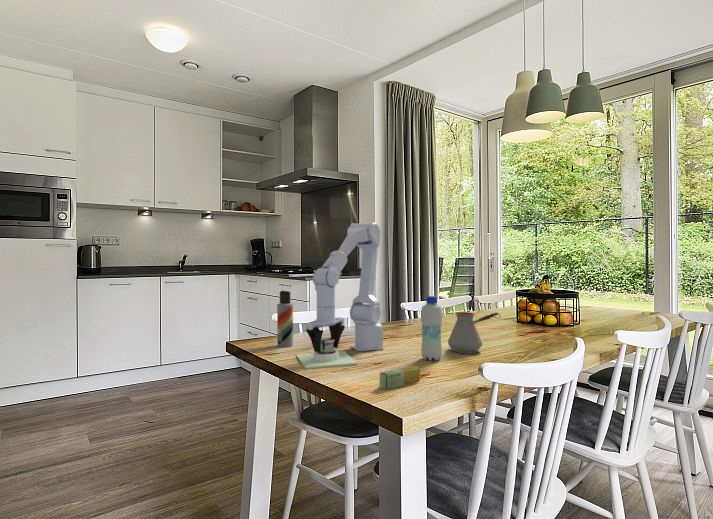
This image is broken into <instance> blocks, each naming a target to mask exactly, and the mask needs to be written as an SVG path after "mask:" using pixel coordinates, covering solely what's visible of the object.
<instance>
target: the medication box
mask: <svg viewBox="0 0 713 519" xmlns="http://www.w3.org/2000/svg"><path fill="white" fill-rule="evenodd" d="M420 374H421V370H420V367H418V366H415V365H409V366H406V367H405V366H403V367H400V368H396V369H395V368H394V369H391V370H386V371H382V372H379V386H378V387H380V389H381V388H382V390H384V389H387V390H390V389H389V388H391V389H394V388H393V387H395V388H398V387H397V386H399V387H402V386H401V385H403V386H406V385H405V384H407V385H410V384H414V383H418V382H420ZM413 382H414V383H413ZM409 383H410V384H409Z"/></svg>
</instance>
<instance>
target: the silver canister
mask: <svg viewBox="0 0 713 519" xmlns="http://www.w3.org/2000/svg"><path fill="white" fill-rule="evenodd" d="M334 342H335V338H331V336H330V337H329V336H325V337H323V336H322V338H321V349H320V354H333V353H334V350H335V348H334Z"/></svg>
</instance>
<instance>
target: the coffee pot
mask: <svg viewBox="0 0 713 519" xmlns="http://www.w3.org/2000/svg"><path fill="white" fill-rule="evenodd" d="M454 314H455V316H456V321H455V324H454V325H453V328H452V331H451V333H450V334H449V337H448V340H447V343H448V347H450V348H451V349H452V350H453V351H454V352H456V353H459V354H475V353H477V351H479V350H480V349H481V348H482V346H483V341H482V339H481V337H480V335H479V332H478V329H477V328H476V325H475V324H478V323H480V322H484V321H486V320H489V319H491V318H495V319H497V320H499V319H501V314H500V313H499V312H493V313H491V314H487V315H485V316H483V317H480V318H479V319H476V320H474V316H475V313H473V312H467V311H466V312H465V311H463V312H461V311H460V312H455V313H454ZM497 315H499V318H498V317H497Z"/></svg>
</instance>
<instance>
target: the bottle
mask: <svg viewBox="0 0 713 519" xmlns="http://www.w3.org/2000/svg"><path fill="white" fill-rule="evenodd" d="M425 301H426V302H425V304H423V305H422V306H421V310H420V311H421V312H420V320H421V358H423V359H424V360H425V361H427V360H428V361H429V362H431V361H432V360H434V361H435V362H436V361H439V360H440V359H441V358H442V355H443V354H442V353H443V351H442V348H443V347H442V322H443V320H442V319H443V312H442V307H441V306H440V305H438V297H436V296H433V295H431V296H426V300H425Z"/></svg>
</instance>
